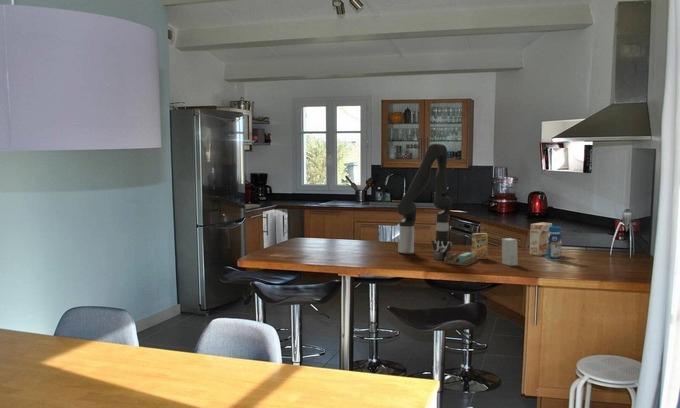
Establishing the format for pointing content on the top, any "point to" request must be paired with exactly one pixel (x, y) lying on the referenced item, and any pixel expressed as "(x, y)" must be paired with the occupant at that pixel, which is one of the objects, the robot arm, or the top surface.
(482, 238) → the candy box
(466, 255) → the teal stick
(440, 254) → the charcoal stick
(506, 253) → the skincare box
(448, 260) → the comb rack
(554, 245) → the beverage bottle
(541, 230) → the coffeecake box
